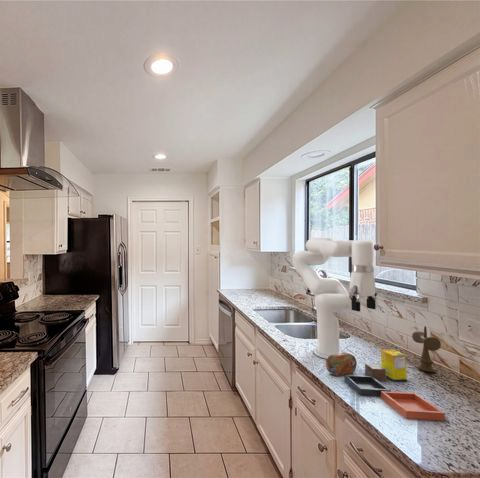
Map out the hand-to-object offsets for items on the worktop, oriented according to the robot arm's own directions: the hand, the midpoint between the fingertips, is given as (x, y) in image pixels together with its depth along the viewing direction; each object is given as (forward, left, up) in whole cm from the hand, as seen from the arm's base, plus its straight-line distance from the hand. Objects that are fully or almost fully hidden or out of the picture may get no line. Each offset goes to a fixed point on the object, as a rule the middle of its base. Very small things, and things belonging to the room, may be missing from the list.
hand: (363, 309), depth 112 cm
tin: (-4, -7, -30) cm, 31 cm away
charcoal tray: (+8, -4, -30) cm, 31 cm away
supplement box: (-2, +13, -30) cm, 32 cm away
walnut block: (-1, +5, -30) cm, 30 cm away
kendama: (-10, +32, -30) cm, 45 cm away
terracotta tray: (+20, +3, -30) cm, 36 cm away
